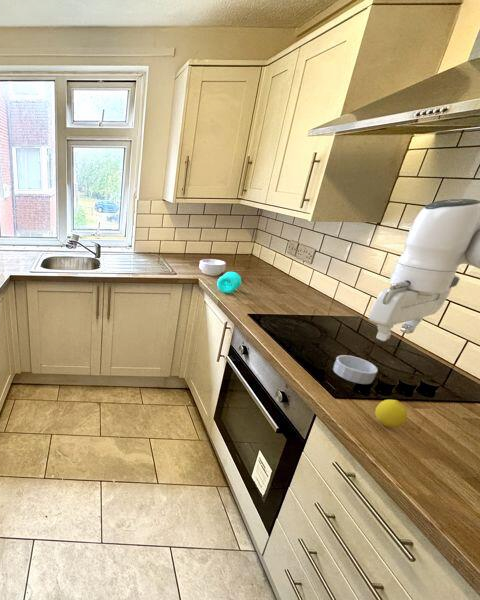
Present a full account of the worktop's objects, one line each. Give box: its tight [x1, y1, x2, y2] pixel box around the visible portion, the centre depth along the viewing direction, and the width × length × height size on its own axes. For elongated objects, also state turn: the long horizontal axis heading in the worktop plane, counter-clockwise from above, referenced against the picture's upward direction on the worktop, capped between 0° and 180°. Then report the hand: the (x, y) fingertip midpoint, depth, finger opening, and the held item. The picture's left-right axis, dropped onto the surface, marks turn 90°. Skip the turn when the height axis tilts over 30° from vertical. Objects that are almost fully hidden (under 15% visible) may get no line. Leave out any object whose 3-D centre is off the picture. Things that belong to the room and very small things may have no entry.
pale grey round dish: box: [332, 354, 379, 385], centre depth 100 cm, size 10×10×4 cm
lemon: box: [374, 399, 408, 428], centre depth 79 cm, size 6×6×8 cm
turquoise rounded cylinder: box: [216, 271, 242, 294], centre depth 168 cm, size 10×10×10 cm
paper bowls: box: [198, 258, 227, 277], centre depth 197 cm, size 15×15×8 cm
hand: (394, 335), depth 72 cm, fingers open, 8 cm apart
